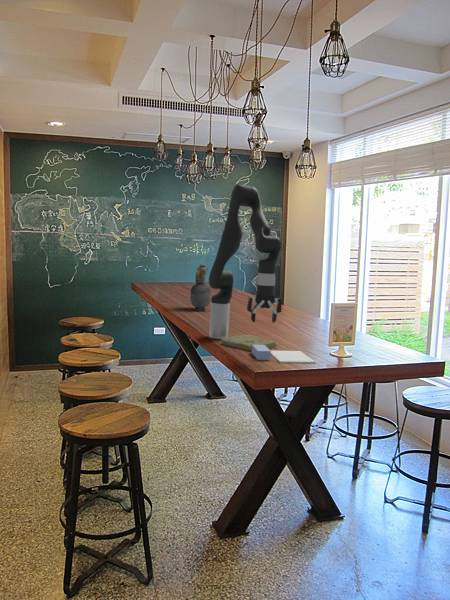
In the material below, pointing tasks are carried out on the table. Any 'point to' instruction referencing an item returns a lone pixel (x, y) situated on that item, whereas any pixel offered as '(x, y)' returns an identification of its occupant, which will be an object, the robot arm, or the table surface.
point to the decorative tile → (247, 342)
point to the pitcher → (200, 290)
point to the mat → (291, 357)
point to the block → (261, 352)
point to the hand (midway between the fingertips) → (263, 322)
